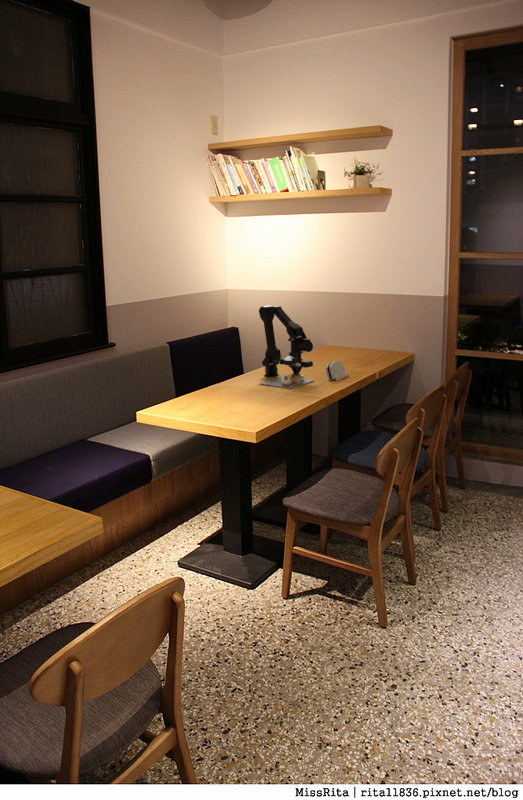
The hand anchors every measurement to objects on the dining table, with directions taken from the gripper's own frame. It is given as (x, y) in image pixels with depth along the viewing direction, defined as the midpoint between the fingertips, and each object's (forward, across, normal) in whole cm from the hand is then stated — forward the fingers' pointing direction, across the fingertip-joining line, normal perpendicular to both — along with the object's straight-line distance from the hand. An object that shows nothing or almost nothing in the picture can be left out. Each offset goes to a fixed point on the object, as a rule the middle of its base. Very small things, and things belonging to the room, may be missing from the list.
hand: (296, 378), depth 375 cm
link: (+1, +3, -7) cm, 7 cm away
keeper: (+1, +4, -7) cm, 9 cm away
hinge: (+2, +14, +18) cm, 23 cm away
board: (+2, -1, -7) cm, 7 cm away
